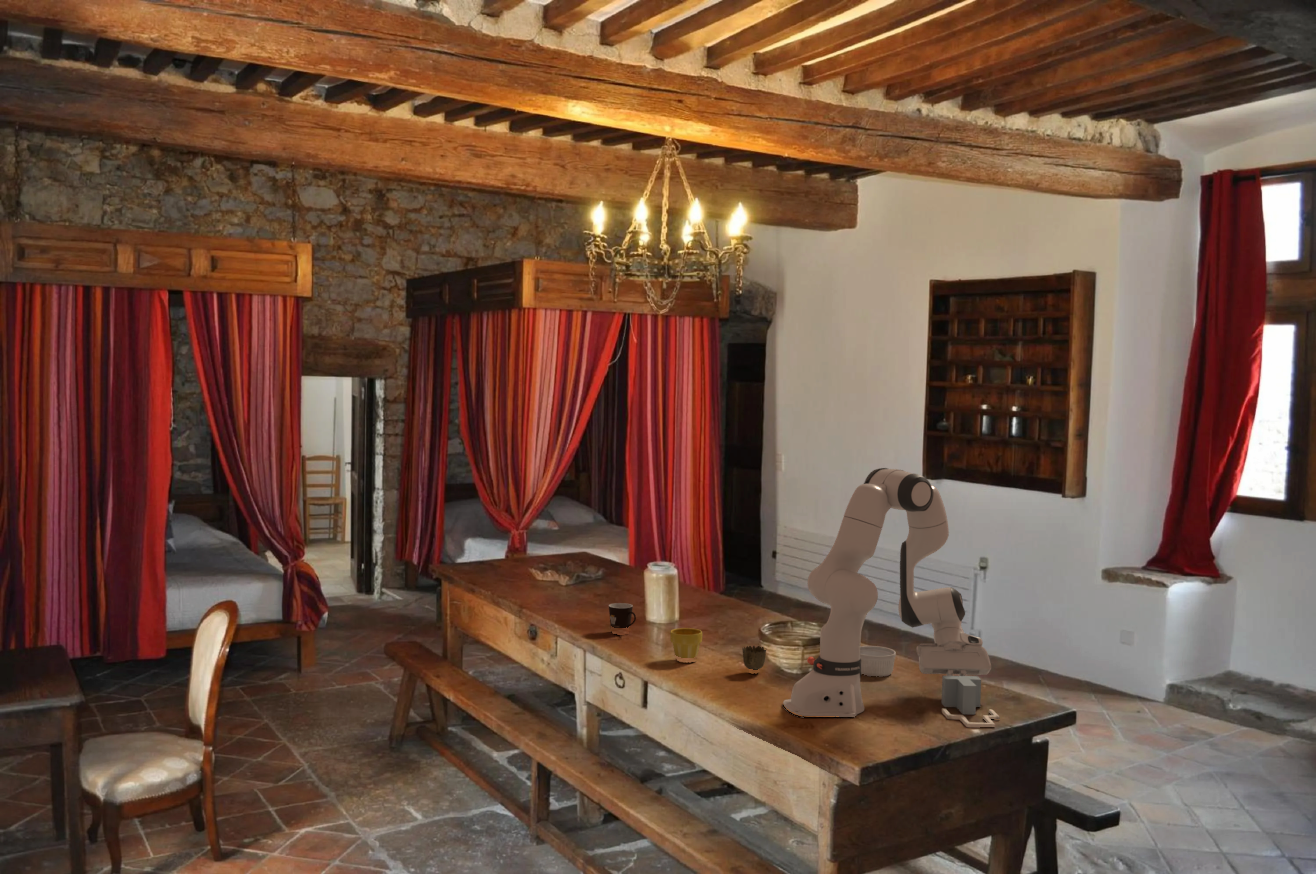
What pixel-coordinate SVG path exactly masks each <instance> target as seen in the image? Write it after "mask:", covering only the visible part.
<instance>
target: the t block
mask: <svg viewBox="0 0 1316 874" xmlns="http://www.w3.org/2000/svg"><path fill="white" fill-rule="evenodd" d="M941 678H942V680H941V705H943V707H945V708H956V709H957V710H958V709H959V710H958V711H959V712H960V713H961V715H976V713H977V712H976V711H977V710H976V707H980V708H981V698H982V697H981V695H982V694H981V693H982V679H981V678H980V677H979V675H973V676H972V675H965V676H960V675H953V676H947V675H942V677H941Z"/></svg>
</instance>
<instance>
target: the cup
mask: <svg viewBox="0 0 1316 874" xmlns="http://www.w3.org/2000/svg"><path fill="white" fill-rule="evenodd" d="M766 654H767V649H766V650H765V648H764V646H760V645H758V646H755V645H752V646H751V645H749V646H748V645H747V646H746V647H745V646H743V647H742V659H743V664H744V666H745V668H747V670H748V669H753V670H758V669H759V670H761V669H762V668H763V667H764V665H765V661H766Z"/></svg>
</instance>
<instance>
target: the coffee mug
mask: <svg viewBox="0 0 1316 874" xmlns="http://www.w3.org/2000/svg"><path fill="white" fill-rule="evenodd" d="M633 607H634V606H633V604H631V603H625V602H624V603H621V602H618V603H617V602H615V603H610V604H608V613H609V622H610V627H611V626H612V627H614V628H626V627H627V628H628V627H629V626H630V627H631V626H632V625H634V623H635V622H636V621H637V620H636V619H637V616H636V614H635V612H634V611H633ZM632 615H633V621H632Z"/></svg>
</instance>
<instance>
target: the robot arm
mask: <svg viewBox="0 0 1316 874" xmlns="http://www.w3.org/2000/svg"><path fill="white" fill-rule="evenodd" d="M939 491H940V490H939V489H938V488H937V487H935V486H934V485H932V483H930V481H929V480H928V478H926V477H925V476H923V475H921V474H918V473H912V472H909V471H905V470H903V469H897V468H887V467H881V468H880V467H879V468H876V469H873V470H872V471H870V472H869V473H868V475H867V476H866V478H865V480H864V482H863V483H862V484H860V485H858V486H857V487H856V488H855V490H854V492H853V493H852V495H851V497H850V499H849V502H848V504H847V506H846V508H845V512H844V514H843V518H842V520H841V523H840V527H839V530H838V533H837V536H836V539H835V541H834V543H833V545H832V547H831V548H830V550H829V552H828V554H827V555H826V557H825V558H824V560H823V561H822V562H821V563H820V564H819V565H818V566H817V567H815V568H814V569H812V570H811V572H810V573H809V575H808V578H807V589H808V591H809V593H810V594H811V595H812V596H813V597H814V598H815V599H817V600H818V601H819V602H820V603H822V604H825V605H828V606H829V607H830V613H829V617H828V619H827V622H826V623H825V624H823V625H822V627H821V629H820V634H819V635H820V636H819V637H820V639H819V642H820V643H819V655H818V657H817V658H814V656H808V658H807V663H808V664H809V665H811V666H812V667H813V669H812V670H811V671H809V673H807V674H805V676H803V677H802V678H801V679H798V681H796V682H795V683H794V685H793V687H792V690H791V695H790V698H789V699H784V700H783V702H782V705H783V704H784V706H785V707H786V708H787V709H789V710H790V711H791V712H794V713H796V714H798V715H802V716H835V717H836V716H839V717H854V718H856V717H855V716H858V715H859V714H861V713H863V712H864V711H865V706H864V702H863V696H862V690H861V689H862V688H861V678H862V674H861V669H862V667H861V658H860V646H861V639H862V631H863V626H864V623H865V620H866V617H867V615H868V613H869V612H870V611H872V610H873V609H874V607H876V605H877V602H878V597H879V596H878V595H879V591H878V588H877V586H876V584H875V583H874V581H872V580H871V579H869V578H868V577H866V576H865V575H863V574H861V573H858V572H859V571H860V569H861V567H862V566H863V564H864V563H865V562H867V561H868V560H869V559H870V558H872V557H873V556H874V554H875V552H876V549H877V547H878V546H877V545H878V542H879V539H880V536H881V533H882V530H883V527H884V523H885V519H886V515H887V513H888V511H889V510H891V509H894V510H900V511H905V512H906V519H907V525H908V535H907V538H906V540H904V541H903V542H902V543H901V546H900V549H899V550H900V551H899V553H900V555H899V556H900V557H899V599H898V615H899V618H900V620H901V622H902V623H903V624H904V625H907V626H909V627H911V628H912V629H913V628H917V627H921V626H925V625H931V627H932V629H933V641H934V642H933V643H931V642H930V643H925V642H924V643H923V642H921V643H920V644H918V645H917V646H916V648H915V649H916V655H917V656H918V668H919V671H920V673H921V674H925V675H927V674H928V675H946V676H954V675H958V676H972V675H973V676H979V675H980V676H982V675H983V676H987V675H988V674H989V673H990V672H991V669H992V664H991V659H990V656H989V654H988V651H987V649H986V648H985V647H983V639H982V638H981V637H977V636H974V635H971V634H969V633H966V632H965V631H964V630H963V627H962V623H963V622H962V621H963V620H964V618H965V616H966V611H965V608H964V606H963V605H964V604H963V595H962V593H961V592H959V591H958V590H957V589H956V588H954V587H941V588H935V589H929V590H922V591H915V590H914V589H915V587H914V584H915V583H914V582H915V581H914V579H915V577H914V575H915V574H914V571H915V568H916V565H917V564H918V563H919V562H921V561H922V560H924V559H925V558H926V557H928V556H931V555H932V554H934V553H936V552H937V551H939V550H940V549H941V548H942V547H943V546H944V545H945V544H946V542H947V541H948V539H949V536H950V535H949V533H950V532H949V530H950V529H949V522H948V517H947V512H946V508H945V505H944V501H943V499H942V496H941V494H940V492H939Z"/></svg>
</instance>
